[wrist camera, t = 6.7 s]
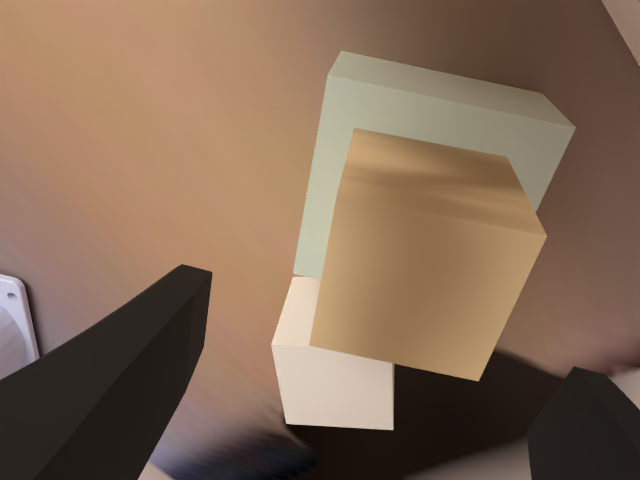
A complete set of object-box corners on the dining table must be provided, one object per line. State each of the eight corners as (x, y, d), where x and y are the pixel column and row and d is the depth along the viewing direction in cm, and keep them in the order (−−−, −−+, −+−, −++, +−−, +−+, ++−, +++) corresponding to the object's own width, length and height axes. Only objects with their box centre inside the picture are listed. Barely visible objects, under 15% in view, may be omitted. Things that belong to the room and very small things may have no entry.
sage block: (471, 255, 20) (486, 317, 17) (310, 219, 20) (292, 273, 17) (540, 90, 17) (576, 127, 13) (342, 49, 17) (327, 74, 13)
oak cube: (506, 156, 14) (547, 236, 10) (460, 279, 16) (478, 381, 12) (353, 127, 14) (336, 194, 10) (329, 253, 16) (309, 345, 13)
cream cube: (394, 351, 23) (393, 429, 20) (304, 348, 24) (286, 423, 20) (392, 276, 21) (391, 348, 17) (293, 275, 22) (271, 345, 18)
